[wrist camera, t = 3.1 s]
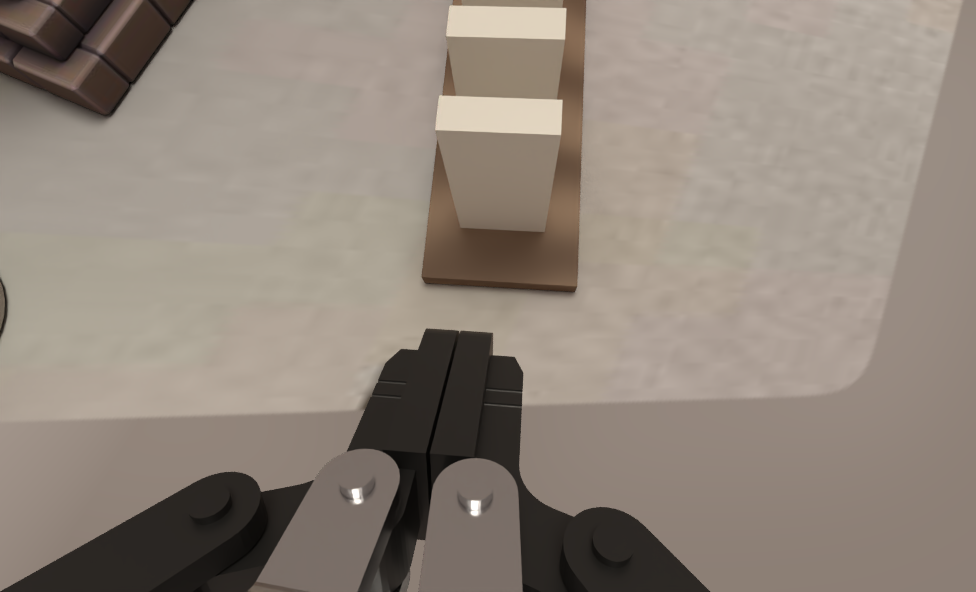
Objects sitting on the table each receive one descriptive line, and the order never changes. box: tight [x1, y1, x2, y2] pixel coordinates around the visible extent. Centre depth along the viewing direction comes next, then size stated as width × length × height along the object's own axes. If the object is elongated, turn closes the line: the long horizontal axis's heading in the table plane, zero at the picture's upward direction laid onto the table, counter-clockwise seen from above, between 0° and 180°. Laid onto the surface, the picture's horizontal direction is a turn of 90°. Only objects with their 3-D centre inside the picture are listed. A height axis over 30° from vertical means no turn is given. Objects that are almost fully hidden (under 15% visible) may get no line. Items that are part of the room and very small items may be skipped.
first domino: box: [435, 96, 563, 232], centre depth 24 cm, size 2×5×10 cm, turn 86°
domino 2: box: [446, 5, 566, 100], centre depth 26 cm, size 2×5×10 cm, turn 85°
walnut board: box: [422, 0, 586, 292], centre depth 32 cm, size 28×9×1 cm, turn 176°
